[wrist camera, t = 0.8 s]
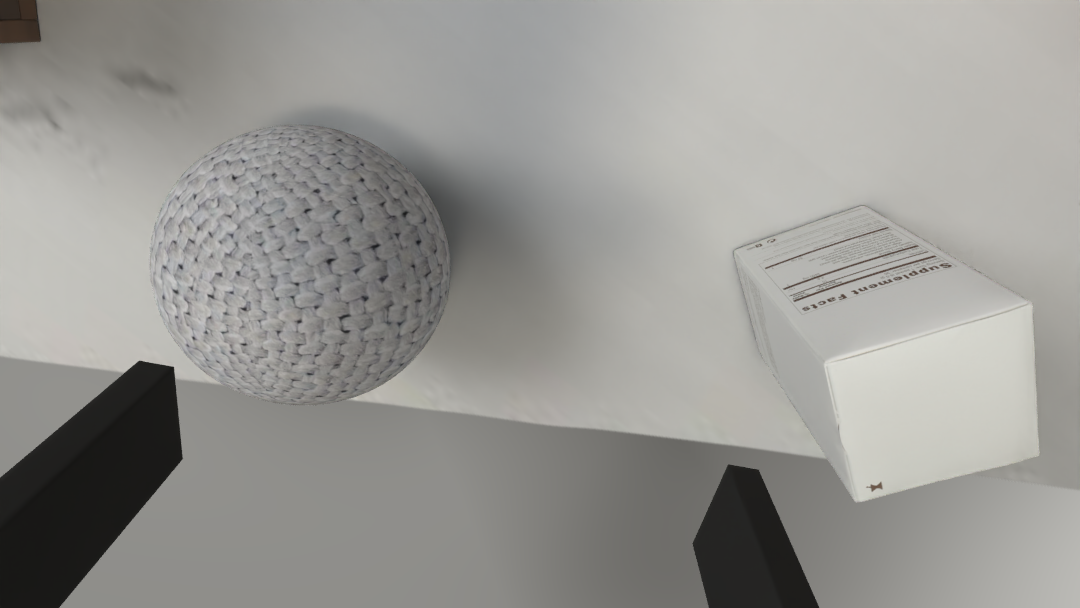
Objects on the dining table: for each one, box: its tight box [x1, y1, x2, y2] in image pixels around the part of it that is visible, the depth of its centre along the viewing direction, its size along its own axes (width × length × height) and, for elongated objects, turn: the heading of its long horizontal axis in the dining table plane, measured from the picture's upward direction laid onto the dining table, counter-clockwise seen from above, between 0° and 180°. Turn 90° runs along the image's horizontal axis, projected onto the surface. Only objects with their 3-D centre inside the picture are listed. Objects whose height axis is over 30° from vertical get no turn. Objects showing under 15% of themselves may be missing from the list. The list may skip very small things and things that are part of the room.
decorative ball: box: [150, 125, 451, 405], centre depth 32 cm, size 15×15×15 cm
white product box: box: [733, 205, 1040, 502], centre depth 34 cm, size 9×9×15 cm
